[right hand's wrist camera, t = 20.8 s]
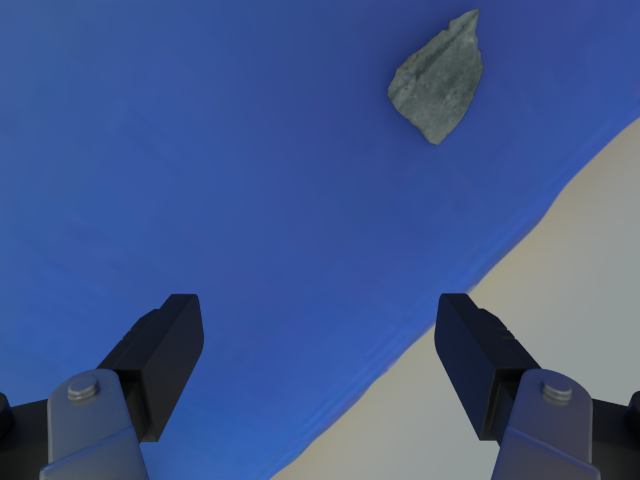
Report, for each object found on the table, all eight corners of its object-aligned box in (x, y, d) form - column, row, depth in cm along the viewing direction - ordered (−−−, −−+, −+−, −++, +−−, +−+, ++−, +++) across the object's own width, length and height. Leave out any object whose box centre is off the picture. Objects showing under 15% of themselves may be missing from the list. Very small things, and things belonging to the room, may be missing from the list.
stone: (504, 66, 36) (453, -15, 31) (529, 73, 33) (476, -16, 28) (425, 143, 40) (368, 81, 35) (440, 156, 36) (380, 91, 31)
